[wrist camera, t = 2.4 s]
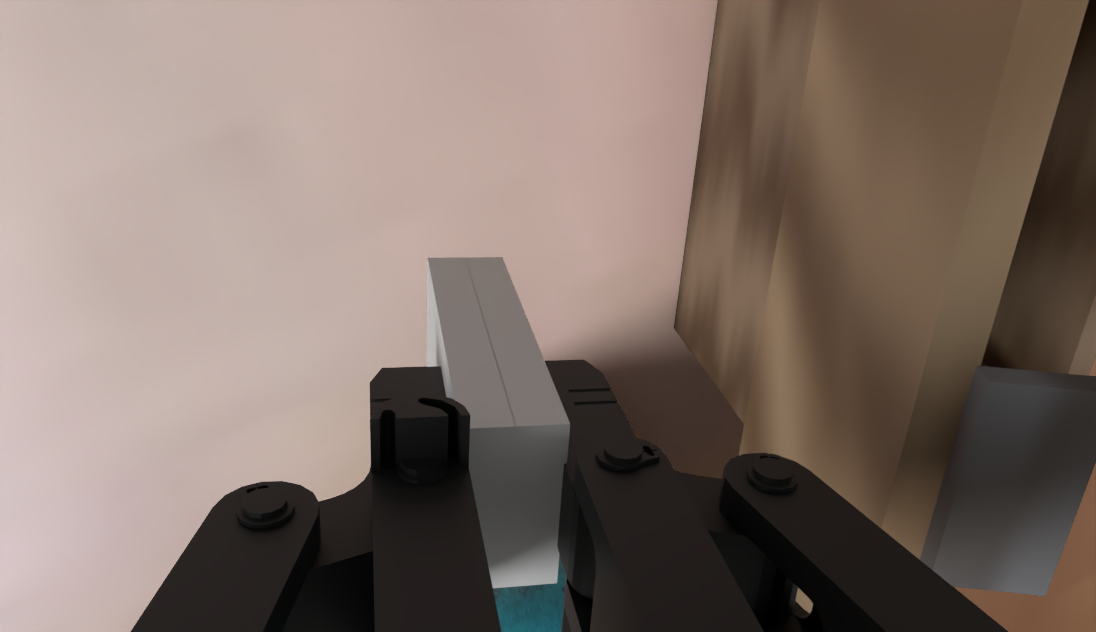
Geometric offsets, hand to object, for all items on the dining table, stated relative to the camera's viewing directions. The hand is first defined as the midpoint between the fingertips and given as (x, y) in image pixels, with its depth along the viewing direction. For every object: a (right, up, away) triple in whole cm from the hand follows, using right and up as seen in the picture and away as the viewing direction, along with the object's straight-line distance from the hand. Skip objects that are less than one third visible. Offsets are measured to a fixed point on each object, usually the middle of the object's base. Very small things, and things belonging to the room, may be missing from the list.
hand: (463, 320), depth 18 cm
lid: (+10, 0, +1) cm, 10 cm away
